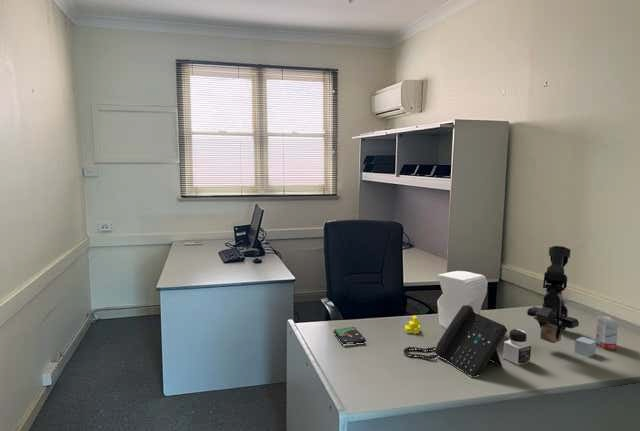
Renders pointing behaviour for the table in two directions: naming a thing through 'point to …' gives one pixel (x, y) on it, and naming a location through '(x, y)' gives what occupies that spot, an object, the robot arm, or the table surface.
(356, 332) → the disk drive
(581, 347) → the painted cube
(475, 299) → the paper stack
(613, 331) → the ink box
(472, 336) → the office phone
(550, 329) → the walnut cube
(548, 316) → the robot arm
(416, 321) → the yellow ball pyramid
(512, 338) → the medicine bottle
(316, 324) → the table surface
